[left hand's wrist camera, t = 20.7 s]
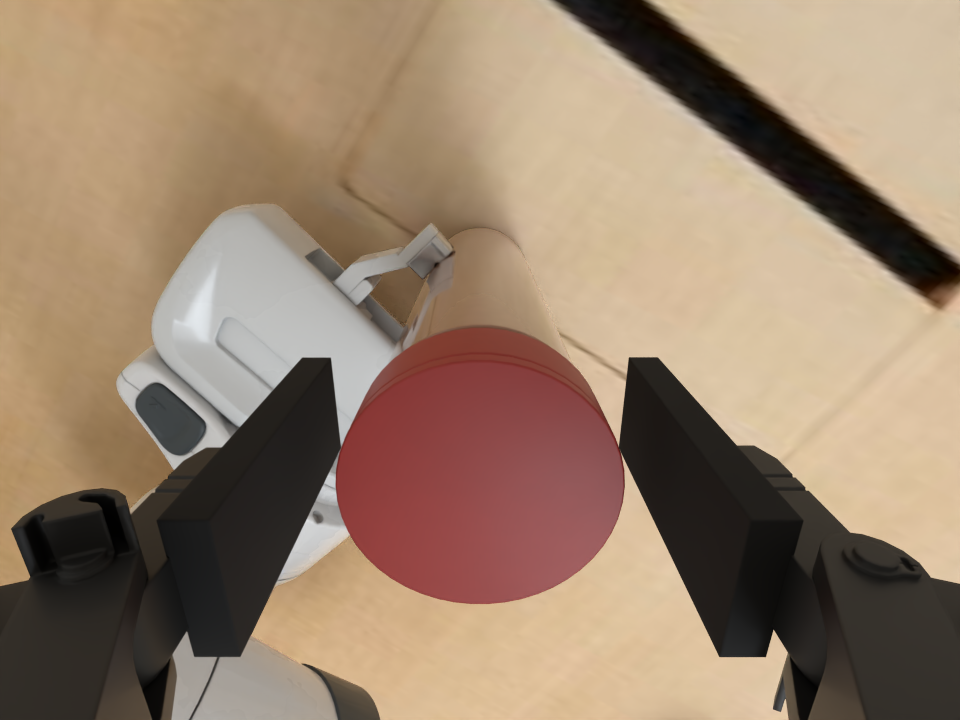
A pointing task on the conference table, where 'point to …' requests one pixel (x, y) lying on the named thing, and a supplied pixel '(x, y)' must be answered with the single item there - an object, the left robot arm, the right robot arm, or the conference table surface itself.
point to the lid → (480, 468)
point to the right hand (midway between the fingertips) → (493, 290)
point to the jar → (480, 293)
